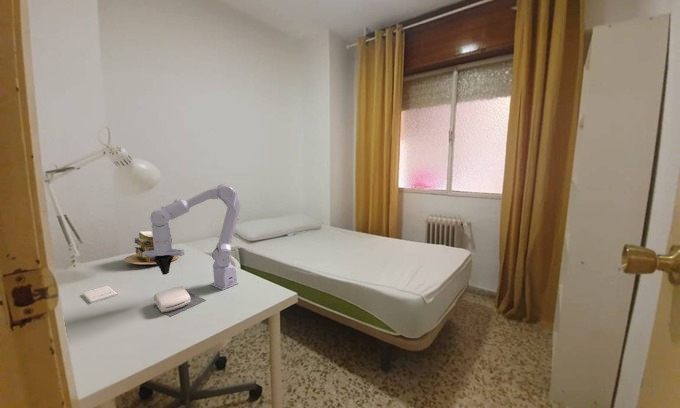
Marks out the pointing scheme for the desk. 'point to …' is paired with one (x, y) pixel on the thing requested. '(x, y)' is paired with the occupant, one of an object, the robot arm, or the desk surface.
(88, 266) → the desk surface
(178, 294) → the photo printer
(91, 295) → the external hard drive
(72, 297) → the desk surface
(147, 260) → the sandwich platter
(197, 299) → the rubber mat
